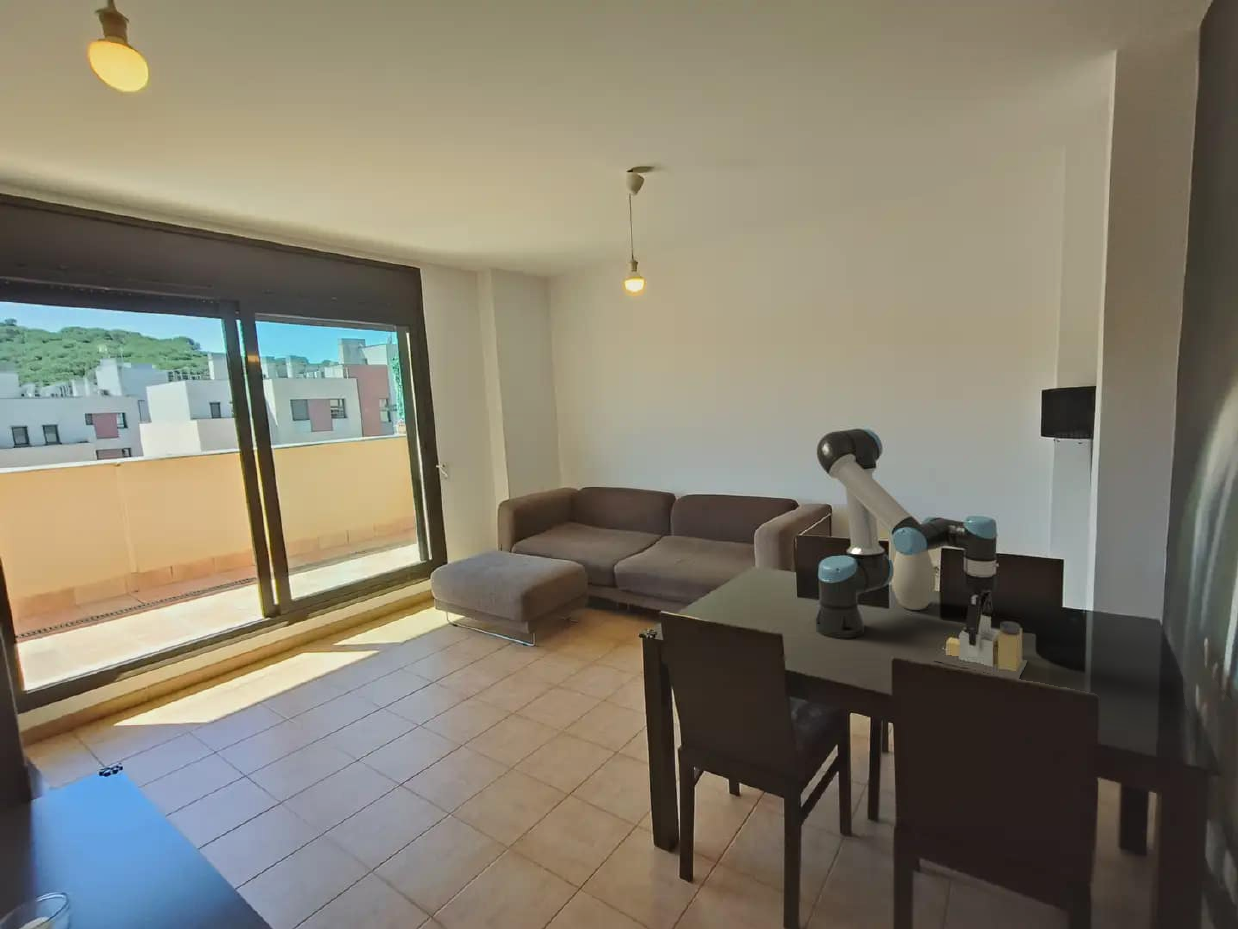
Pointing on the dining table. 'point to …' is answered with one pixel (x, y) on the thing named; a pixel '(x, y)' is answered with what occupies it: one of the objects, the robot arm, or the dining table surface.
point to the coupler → (1000, 646)
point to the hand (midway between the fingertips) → (979, 646)
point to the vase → (913, 580)
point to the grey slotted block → (980, 646)
